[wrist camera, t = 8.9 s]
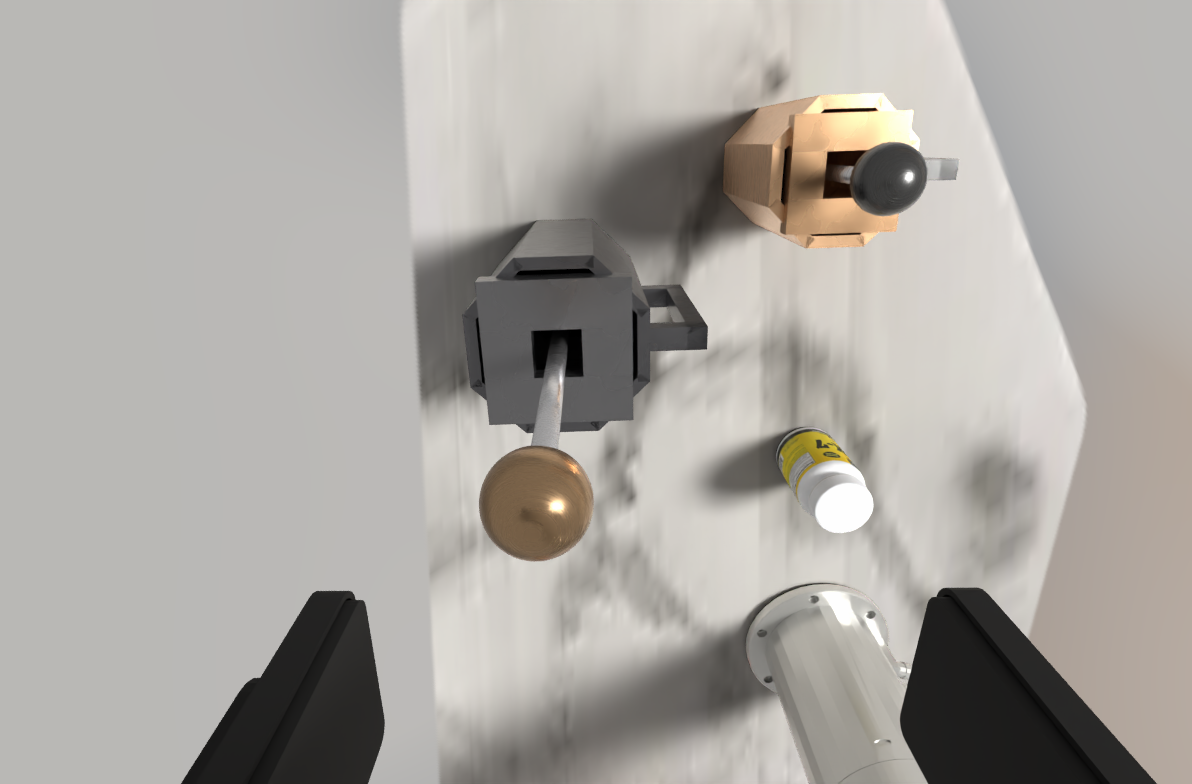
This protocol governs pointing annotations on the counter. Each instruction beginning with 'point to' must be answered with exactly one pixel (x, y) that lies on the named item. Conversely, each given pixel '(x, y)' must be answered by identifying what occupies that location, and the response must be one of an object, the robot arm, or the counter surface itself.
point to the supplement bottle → (824, 480)
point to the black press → (571, 327)
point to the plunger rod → (539, 481)
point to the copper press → (815, 166)
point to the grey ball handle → (883, 178)
